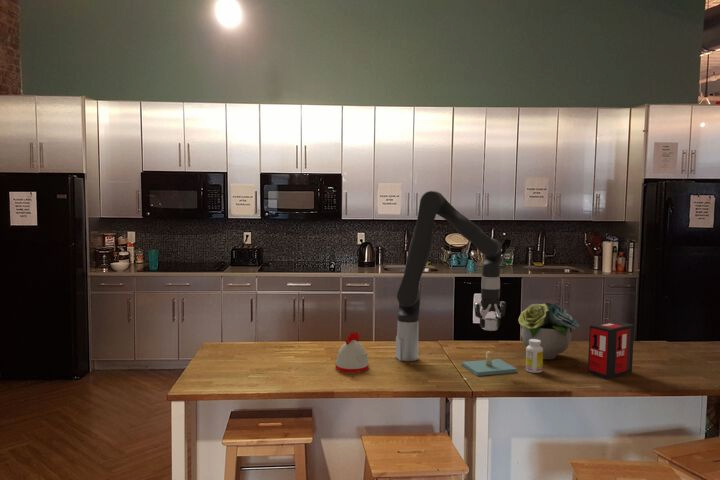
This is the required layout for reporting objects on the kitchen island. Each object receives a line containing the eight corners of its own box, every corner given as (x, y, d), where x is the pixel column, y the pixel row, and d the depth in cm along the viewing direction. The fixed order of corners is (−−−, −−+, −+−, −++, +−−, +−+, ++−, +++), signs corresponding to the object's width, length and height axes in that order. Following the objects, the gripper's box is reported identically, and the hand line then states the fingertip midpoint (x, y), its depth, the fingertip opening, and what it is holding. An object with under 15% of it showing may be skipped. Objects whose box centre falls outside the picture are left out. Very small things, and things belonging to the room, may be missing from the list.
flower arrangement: (548, 347, 258) (549, 296, 256) (586, 362, 235) (589, 307, 233) (504, 352, 249) (506, 300, 247) (540, 368, 226) (542, 311, 224)
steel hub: (486, 331, 219) (487, 321, 219) (479, 327, 225) (480, 318, 225) (500, 330, 221) (500, 320, 221) (492, 326, 227) (492, 317, 227)
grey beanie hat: (375, 367, 226) (375, 332, 224) (352, 375, 215) (352, 338, 214) (351, 360, 235) (351, 326, 234) (328, 367, 225) (328, 332, 224)
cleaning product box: (611, 366, 228) (613, 320, 227) (631, 372, 221) (634, 324, 219) (587, 373, 220) (589, 325, 218) (607, 379, 212) (609, 329, 211)
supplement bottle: (542, 369, 224) (543, 339, 223) (542, 374, 218) (543, 343, 217) (525, 367, 226) (526, 337, 225) (525, 372, 220) (526, 341, 219)
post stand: (477, 375, 215) (477, 357, 215) (461, 365, 229) (462, 348, 228) (516, 372, 220) (517, 354, 219) (499, 362, 234) (499, 345, 233)
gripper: (501, 285, 227) (500, 324, 229) (470, 286, 223) (469, 326, 225) (510, 287, 220) (510, 328, 221) (479, 289, 216) (478, 330, 218)
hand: (489, 326), depth 223 cm, fingers closed on steel hub, 6 cm apart
